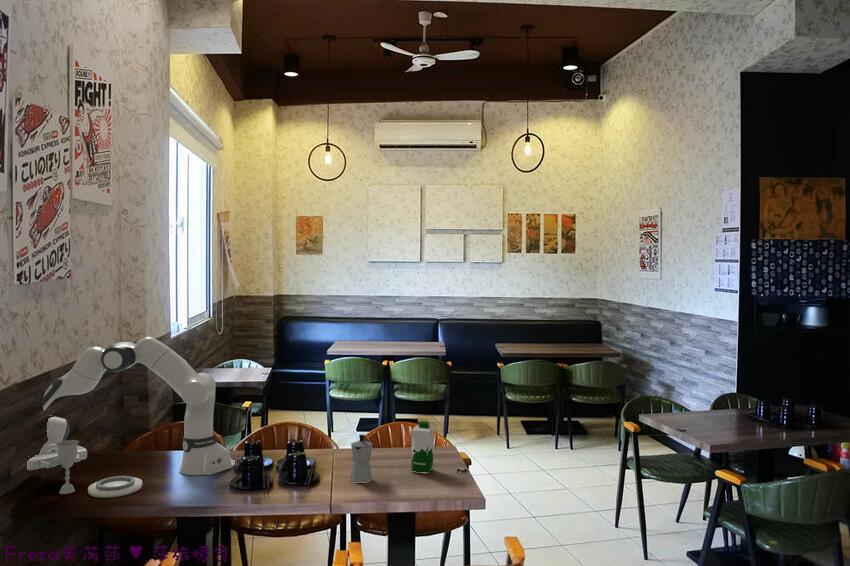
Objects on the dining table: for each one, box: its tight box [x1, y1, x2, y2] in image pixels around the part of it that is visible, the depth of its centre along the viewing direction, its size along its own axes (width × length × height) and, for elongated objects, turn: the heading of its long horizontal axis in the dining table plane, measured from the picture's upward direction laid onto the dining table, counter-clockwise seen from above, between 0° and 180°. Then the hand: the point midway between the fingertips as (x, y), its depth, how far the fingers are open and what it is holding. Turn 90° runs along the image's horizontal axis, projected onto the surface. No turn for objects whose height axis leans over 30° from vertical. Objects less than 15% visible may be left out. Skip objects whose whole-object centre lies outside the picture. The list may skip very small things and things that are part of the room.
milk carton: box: [411, 420, 435, 472], centre depth 255 cm, size 9×9×20 cm
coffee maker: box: [349, 434, 373, 483], centre depth 243 cm, size 15×9×18 cm, turn 168°
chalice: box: [56, 439, 80, 495], centre depth 224 cm, size 7×7×18 cm
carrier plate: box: [87, 475, 143, 499], centre depth 228 cm, size 18×18×3 cm
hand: (64, 462), depth 227 cm, fingers open, 8 cm apart
